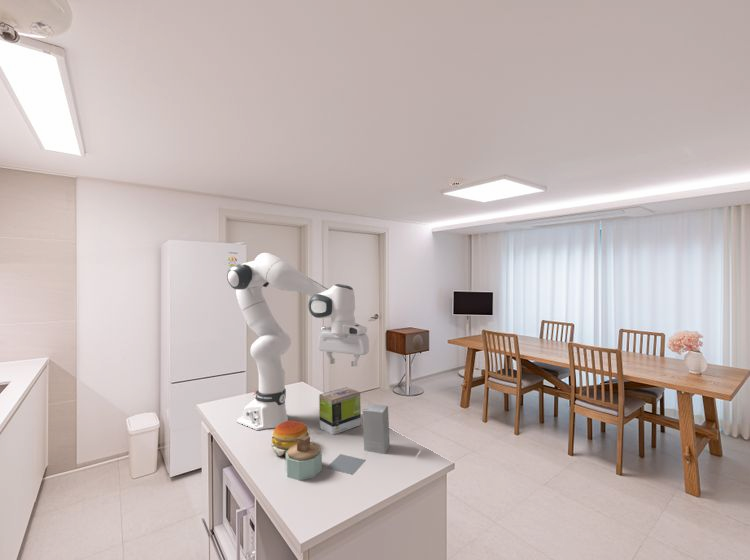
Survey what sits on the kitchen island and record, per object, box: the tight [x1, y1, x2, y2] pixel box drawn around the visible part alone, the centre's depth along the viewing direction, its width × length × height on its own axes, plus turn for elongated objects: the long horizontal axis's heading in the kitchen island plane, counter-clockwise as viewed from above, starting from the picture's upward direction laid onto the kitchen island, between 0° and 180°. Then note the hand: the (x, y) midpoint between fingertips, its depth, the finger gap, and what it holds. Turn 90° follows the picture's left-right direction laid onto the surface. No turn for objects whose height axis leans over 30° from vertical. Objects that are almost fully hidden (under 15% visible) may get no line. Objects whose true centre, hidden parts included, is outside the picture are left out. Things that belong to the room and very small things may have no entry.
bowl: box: [285, 447, 323, 481], centre depth 114 cm, size 11×11×6 cm
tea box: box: [318, 386, 362, 436], centre depth 148 cm, size 15×10×15 cm
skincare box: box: [362, 403, 391, 455], centre depth 128 cm, size 8×7×16 cm
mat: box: [325, 453, 367, 476], centre depth 118 cm, size 10×10×1 cm
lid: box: [288, 435, 320, 460], centre depth 114 cm, size 10×10×5 cm
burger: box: [271, 419, 310, 457], centre depth 128 cm, size 14×14×10 cm
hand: (342, 364), depth 130 cm, fingers open, 8 cm apart
